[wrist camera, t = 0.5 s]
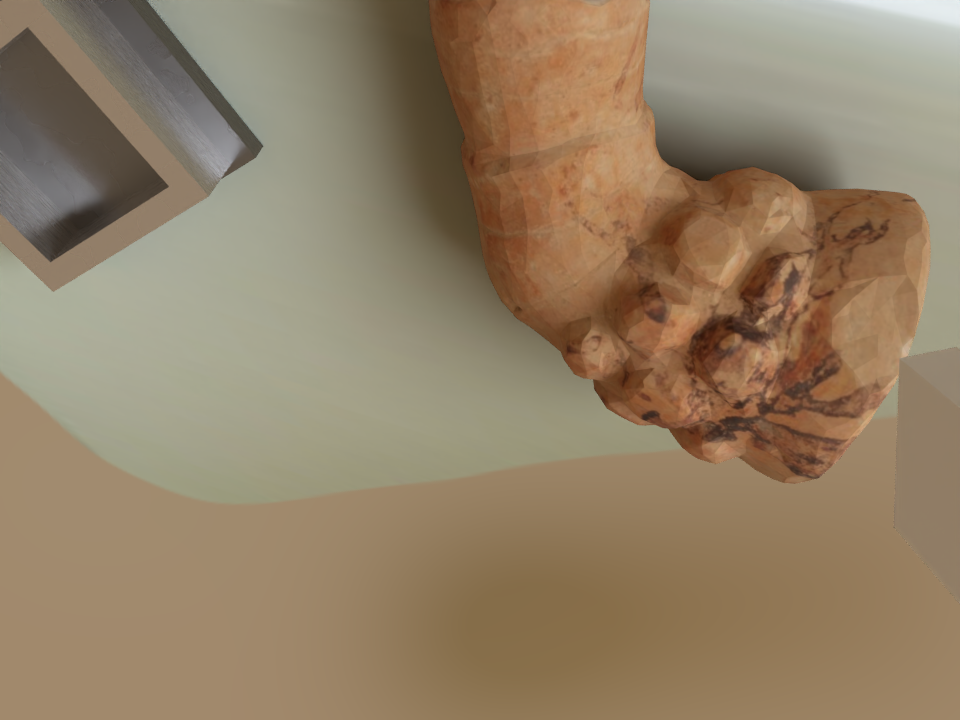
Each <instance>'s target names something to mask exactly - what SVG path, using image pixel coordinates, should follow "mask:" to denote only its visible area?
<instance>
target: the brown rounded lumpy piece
mask: <svg viewBox="0 0 960 720" xmlns="http://www.w3.org/2000/svg"><path fill="white" fill-rule="evenodd" d="M649 7H650V0H429V10H430V23H431V29H432V36H433V40H434V44H435V48H436V52H437V56H438V60H439V63H440V67H441V71H442V74H443V77H444V79H445V82H446V85H447V88H448V91H449V94H450V97H451V100H452V103H453V106H454V109H455V112H456V114H457V117H458V119H459V122H460V124H461V127H462V129H463V132H464V135H465V138H464V141H463V143H462V145H461V153H462V163H463V167H464V170H465V172H466V175H467V177H468V181H469V184H470V188H471V193H472V197H473V202H474V207H475V211H476V216H477V221H478V227H479V234H480V240H481V247H482V253H483V257H484V261H485V265H486V269H487V272H488V275H489V277H490V280H491V282H492V284H493V286H494V288H495V290H496V291H497V293H498V295H499V297H500V299H501V301H502V302H503V303H504V304H505V305H506V306H507V307H508V308H509V310H510V311H511V312H512V313H513V314H514V316H515V317H516V318H517V319H519V320H520V321H522V322H523V323H525V324H526V325H528V326H530V327H531V328H532V329H534V330H535V331H536V332H537V333H539V334H540V335H541V336H543V337H544V338H545V339H546V340H548V341H549V342H550V343H551V344H552V345H554V346H555V347H556V348H557V349H558V350H559V351H561V353H562V356H563V358H564V360H565V362H566V363H567V364H568V366H569V367H570V369H571V370H572V371H573V373H574V374H575V375H578V376H580V377H582V378H587V379H593V382H594V389H595V391H596V392H597V394H598V395H599V397H600V399H601V400H602V402H603V403H604V405H605V406H606V408H607V409H609V410H610V411H612V412H614V413H616V414H617V415H619V416H621V417H622V418H624V419H627V420H629V421H631V422H633V423H635V424H637V425H657V426H659V427H662V428H668V429H669V430H670V432H671V433H672V435H673V436H674V437H675V439H676V440H677V441H678V443H679V444H680V445H681V446H682V448H683V449H685V450H686V451H687V452H688V453H690V454H691V455H693V456H694V457H696V458H698V459H700V460H704V461H707V462H711V463H714V464H718V463H720V462H723V461H726V460H729V459H732V458H735V457H739V458H740V459H742V460H743V461H745V462H746V463H747V464H749V465H750V466H751V467H752V468H754V469H755V470H757V471H759V472H761V473H762V474H764V475H766V476H768V477H770V478H772V479H774V480H778V481H780V482H783V483H793V484H795V483H800V482H805V481H809V480H812V479H816V478H819V477H820V476H822V475H823V474H824V473H825V472H826V471H827V470H828V469H829V468H830V467H832V466H833V465H834V464H835V463H836V462H837V461H838V460H839V459H840V458H841V457H842V455H843V454H844V452H845V451H846V450H847V448H848V447H849V446H850V445H851V443H852V442H853V441H854V440H855V439H856V437H857V436H858V435H859V434H860V432H861V431H862V430H863V429H864V428H865V426H866V425H867V424H868V422H869V421H870V419H871V418H872V416H873V415H874V413H875V412H876V410H877V409H878V407H879V406H880V404H881V403H882V401H883V400H884V398H885V397H886V396H887V394H888V393H889V391H890V390H891V388H892V387H893V386H894V384H895V382H896V380H897V378H898V376H899V358H904V357H908V354H909V351H910V348H911V345H912V342H913V339H914V336H915V333H916V329H917V326H918V322H919V318H920V315H921V311H922V308H923V303H924V297H925V292H926V286H927V281H928V275H929V270H930V234H929V224H928V221H927V219H926V216H925V213H924V211H923V210H922V208H921V207H920V206H919V204H918V203H917V202H916V200H915V199H914V198H912V197H911V196H909V195H907V194H904V193H897V192H888V191H877V190H865V189H830V190H817V191H800V190H799V189H798V188H797V187H796V186H794V185H793V184H792V183H791V182H789V181H787V180H786V179H784V178H782V177H780V176H779V175H777V174H774V173H770V172H767V171H764V170H761V169H758V168H755V167H749V168H743V169H738V170H732V171H727V172H726V173H724V174H720V175H715V176H714V177H713V178H711V179H710V180H708V181H697V180H696V179H694V178H692V177H691V176H689V175H688V174H686V173H684V172H683V171H681V170H680V169H678V168H675V167H672V166H669V165H668V164H667V163H666V162H665V161H664V160H663V159H662V158H661V157H660V155H659V152H658V150H657V147H656V141H655V120H654V116H653V112H652V109H651V108H650V107H649V106H648V105H647V103H646V102H645V100H643V76H644V63H645V50H646V38H647V28H648V18H649Z"/></svg>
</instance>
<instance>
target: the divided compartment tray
mask: <svg viewBox="0 0 960 720" xmlns="http://www.w3.org/2000/svg"><path fill="white" fill-rule="evenodd" d="M262 147H263V146H262V144H261V143H260V142H259V141H258V139H257V138H256V137H255V136H254V134H253V133H252V132H251V131H250V129H249V128H248V127H247V126H246V124H245V123H244V122H243V121H242V119H241V118H240V117H239V116H238V114H237V113H236V112H235V111H234V109H233V108H232V107H231V106H230V104H229V103H228V102H227V101H226V99H225V98H224V97H223V96H222V94H221V93H220V92H219V91H218V89H217V88H216V87H215V86H214V84H213V83H212V82H211V81H210V79H209V78H208V77H207V76H206V74H205V73H204V72H203V71H202V69H201V68H200V67H199V66H198V64H197V63H196V62H195V61H194V59H193V58H192V57H191V56H190V54H189V53H188V52H187V51H186V49H185V48H184V47H183V46H182V44H181V43H180V42H179V41H178V39H177V38H176V37H175V36H174V34H173V33H172V32H171V31H170V29H169V28H168V27H167V26H166V24H165V23H164V22H163V21H162V19H161V18H160V17H159V16H158V14H157V13H156V12H155V11H154V9H153V8H152V7H151V6H150V4H149V3H148V2H147V1H146V0H0V241H1V242H2V243H3V244H4V245H5V246H6V247H7V248H8V249H9V250H10V251H11V252H12V253H13V254H14V255H15V256H17V257H18V258H19V259H20V260H21V261H22V262H23V263H24V264H25V265H26V266H27V267H28V268H29V269H30V270H31V271H32V272H33V273H34V274H35V275H36V276H37V277H38V278H39V279H40V280H41V281H43V282H44V283H45V284H46V285H47V286H48V287H49V288H50V289H51V290H52V291H53V292H54V291H55V290H57V289H59V288H60V287H62V286H63V285H65V284H67V283H68V282H70V281H72V280H73V279H75V278H77V277H78V276H80V275H81V274H83V273H85V272H86V271H88V270H90V269H91V268H93V267H94V266H96V265H98V264H99V263H101V262H103V261H104V260H106V259H107V258H109V257H111V256H112V255H114V254H116V253H117V252H119V251H120V250H122V249H124V248H125V247H127V246H129V245H130V244H132V243H133V242H135V241H137V240H138V239H140V238H142V237H143V236H145V235H146V234H148V233H150V232H151V231H153V230H155V229H156V228H158V227H159V226H161V225H163V224H164V223H166V222H168V221H169V220H171V219H172V218H174V217H176V216H177V215H179V214H181V213H182V212H184V211H186V210H187V209H189V208H190V207H192V206H194V205H195V204H197V203H199V202H200V201H202V200H203V199H205V198H207V197H208V196H209V195H210V194H211V192H212V191H213V189H214V188H215V187H216V185H217V184H218V182H219V181H220V180H221V179H222V178H224V177H225V176H227V175H228V174H230V173H232V172H233V171H235V170H237V169H238V168H240V167H241V166H243V165H245V164H246V163H248V162H249V161H251V160H253V159H254V158H256V156H257V155H258V153H259V152H260V150H261V149H262Z"/></svg>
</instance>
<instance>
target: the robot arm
mask: <svg viewBox="0 0 960 720" xmlns="http://www.w3.org/2000/svg"><path fill="white" fill-rule="evenodd" d="M894 506H895V507H894V528H895V529H896V531H897V532H898V533H899V534H900V535H901V536H902V537H903V539H904V540H905V541H906V542H907V543H908V544H909V546H910V547H911V548H912V549H913V550H914V551H915V553H916V554H917V555H918V556H919V557H920V558H921V560H922V561H923V562H924V563H925V564H926V565H927V567H928V568H929V569H930V570H931V571H932V572H933V573H934V575H935V576H936V577H937V578H938V579H939V581H940V582H941V583H942V584H943V585H944V586H945V588H946V589H947V590H948V591H949V592H950V593H951V594H952V596H953V597H954V598H955V599H956V600H957V602H958V603H959V604H960V349H959V348H957V347H954V348H949V349H944V350H939V351H934V352H929V353H924V354H919V355H914V356H909V357H904V358H899V386H898V416H897V447H896V474H895V504H894Z"/></svg>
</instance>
